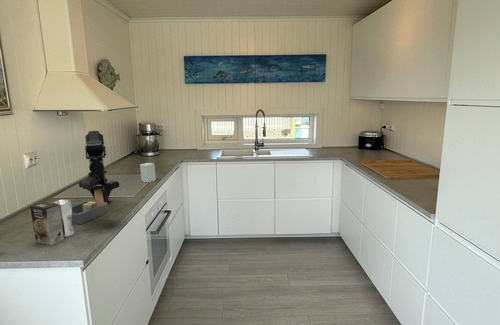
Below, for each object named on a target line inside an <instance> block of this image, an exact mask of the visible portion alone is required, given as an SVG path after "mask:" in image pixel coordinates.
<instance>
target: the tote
mask: <svg viewBox="0 0 500 325" xmlns="http://www.w3.org/2000/svg"><path fill="white" fill-rule="evenodd" d="M90 201H91V200H84V201H82V202H79V203H77V204H75V205H71V206H72V225H79V226H80V225H83V224H86V223H88V222H90V221H92V220H94V219H96V218H98V217H100V216H103V215H105V214H107V213H108V212H109V206H108V204H107V205H104V206H97V207H95V208H93V209H90V210H88V211H85V212H83V205H82V204H85V203H87V202H90ZM91 202H95V200H93V201H91Z"/></svg>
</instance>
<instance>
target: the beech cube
mask: <svg viewBox="0 0 500 325" xmlns="http://www.w3.org/2000/svg"><path fill="white" fill-rule="evenodd" d="M89 201H90V202H87V203H85V204H82V205H83V212H85V211H88V210H90V209H93V208H95V207H97V206H96V204H95V201H94V202H91V200H89Z"/></svg>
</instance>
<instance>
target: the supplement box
mask: <svg viewBox="0 0 500 325" xmlns="http://www.w3.org/2000/svg"><path fill="white" fill-rule="evenodd" d="M155 164H156V163H153V162H152V163H151V162H146V163H140V165H139V169H140V170H139V171H140V178H141V182H142V181H143V182H142V183H146V182H147V184H149V183H152V182H151V181H153V182H156V181H157V177H156V168H155ZM155 180H156V181H155ZM148 182H149V183H148Z"/></svg>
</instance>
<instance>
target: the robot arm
mask: <svg viewBox="0 0 500 325" xmlns="http://www.w3.org/2000/svg"><path fill="white" fill-rule="evenodd" d="M84 139H85V144H86V145H85V146H84V148H85V159H86V160H88V161H89V162H88V163H89V165H88V168H89V172H88V176H87V177H85V178H84V179H82V180H80V181H79V182H78V186H79V188H82V189H83V190H87V191H89V192H90V194H91V195H92V198H93V201H95V196H94V190H96V189H101V190H100V191H102V192H103V198H104V202H105V203H106V202H107V204H108V203H111V199H109V198H110V195H111V192H112V190H114V189H118V188H120V182H119V181H117V180H109V181H108V178H107V177H106V174H107V172H108V171H107V170H105V164H104V158H106V156H107V150H106V149H107V148H106V145H105V141H104V140H105V139H104V135H103V133H100V131H99V130H90V131H88V132H87V134H86V135H85V138H84Z"/></svg>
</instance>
